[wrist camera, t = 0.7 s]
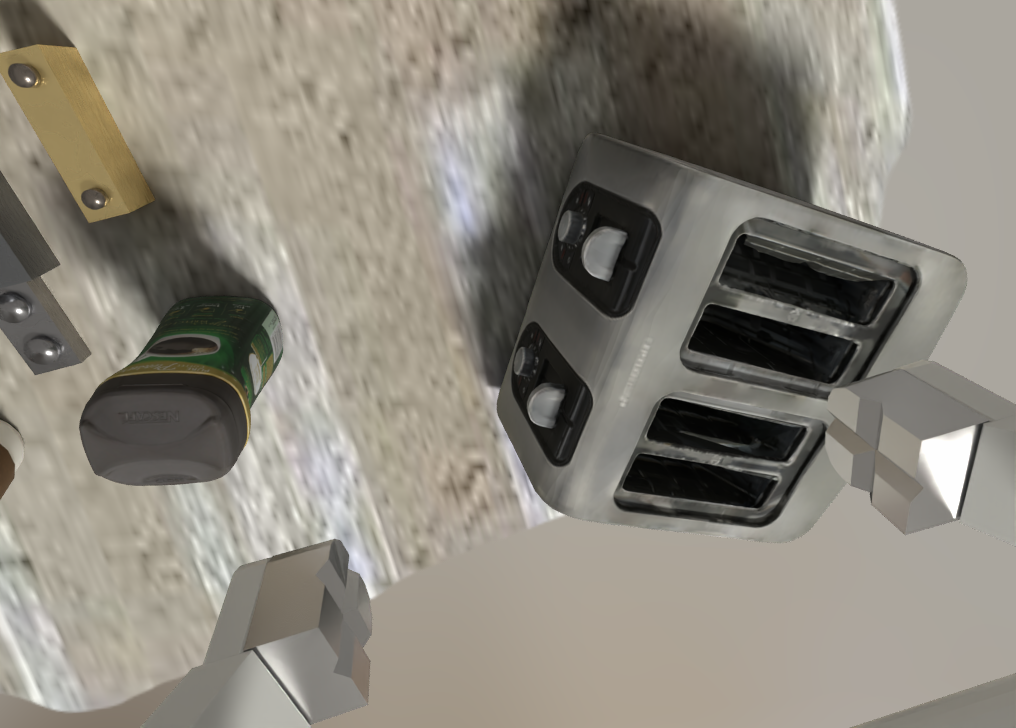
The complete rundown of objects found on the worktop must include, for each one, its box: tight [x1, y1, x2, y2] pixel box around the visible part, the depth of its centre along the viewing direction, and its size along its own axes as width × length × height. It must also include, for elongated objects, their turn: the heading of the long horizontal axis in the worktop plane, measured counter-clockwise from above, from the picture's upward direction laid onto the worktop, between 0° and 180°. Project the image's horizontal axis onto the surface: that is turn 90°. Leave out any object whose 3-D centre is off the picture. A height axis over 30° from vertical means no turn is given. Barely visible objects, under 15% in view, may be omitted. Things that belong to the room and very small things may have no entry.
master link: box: [0, 44, 155, 223], centre depth 40 cm, size 11×3×6 cm, turn 12°
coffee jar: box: [79, 296, 283, 486], centre depth 43 cm, size 10×8×19 cm
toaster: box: [497, 132, 967, 543], centre depth 50 cm, size 29×32×19 cm
